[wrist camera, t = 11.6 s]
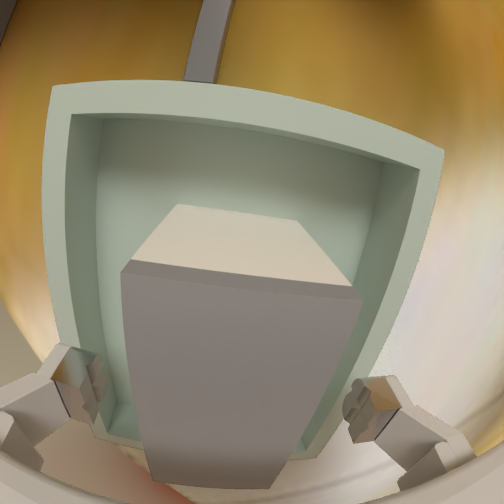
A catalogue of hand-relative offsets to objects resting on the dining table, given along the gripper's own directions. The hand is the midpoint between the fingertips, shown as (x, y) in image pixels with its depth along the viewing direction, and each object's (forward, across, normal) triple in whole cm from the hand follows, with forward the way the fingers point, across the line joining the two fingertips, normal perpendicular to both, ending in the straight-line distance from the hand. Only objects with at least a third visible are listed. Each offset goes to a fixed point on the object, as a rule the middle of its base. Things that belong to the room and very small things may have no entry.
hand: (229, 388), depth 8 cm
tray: (+5, 0, 0) cm, 5 cm away
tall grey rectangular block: (+4, 0, 0) cm, 4 cm away
